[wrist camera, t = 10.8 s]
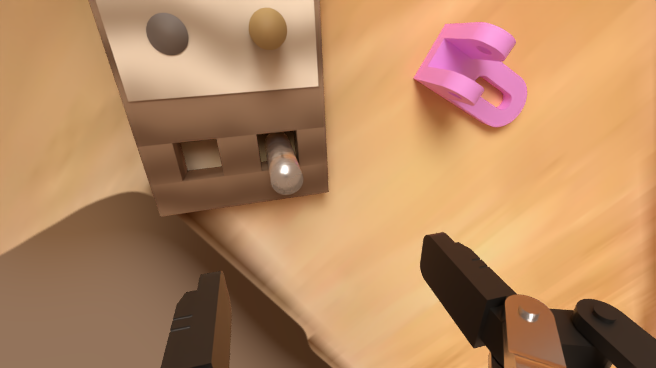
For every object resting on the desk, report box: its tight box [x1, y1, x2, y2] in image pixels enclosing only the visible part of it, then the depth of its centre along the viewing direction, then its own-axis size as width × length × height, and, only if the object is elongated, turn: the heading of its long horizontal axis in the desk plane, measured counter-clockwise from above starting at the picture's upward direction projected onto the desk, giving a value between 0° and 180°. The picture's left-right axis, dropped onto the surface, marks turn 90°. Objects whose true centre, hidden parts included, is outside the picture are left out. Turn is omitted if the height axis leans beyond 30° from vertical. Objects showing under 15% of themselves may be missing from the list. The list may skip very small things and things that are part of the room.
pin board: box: [89, 0, 329, 216], centre depth 25 cm, size 20×16×8 cm
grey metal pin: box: [265, 132, 303, 195], centre depth 27 cm, size 2×2×9 cm
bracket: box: [414, 22, 527, 127], centre depth 30 cm, size 13×6×7 cm, turn 61°
